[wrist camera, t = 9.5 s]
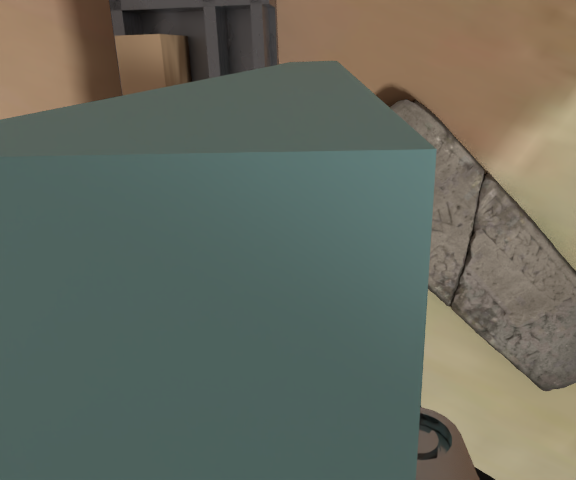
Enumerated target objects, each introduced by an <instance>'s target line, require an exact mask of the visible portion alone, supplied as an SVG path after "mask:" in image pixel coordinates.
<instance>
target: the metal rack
mask: <svg viewBox="0 0 576 480" xmlns="http://www.w3.org/2000/svg"><path fill="white" fill-rule="evenodd" d="M109 3H110V10H111V17H112V25H113V32H114V39H115V36H121V35H146V34H168V35H181V36H188V45H189V56H190V66H191V77H192V82H194V81H199V80H204V79H209V78H214V77H219V76H224V75H229V74H234V73H239V72H244V71H249V70H254V69H259V68H264V67H269V66H274V65H279V60H278V34H277V9H276V0H109ZM115 46H116V44H115ZM116 53H117V51H116ZM117 61H118V58H117ZM118 68H119V65H118ZM119 75H120V72H119ZM120 82H121V80H120ZM121 90H122V87H121ZM122 96H123V94H122Z"/></svg>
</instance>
